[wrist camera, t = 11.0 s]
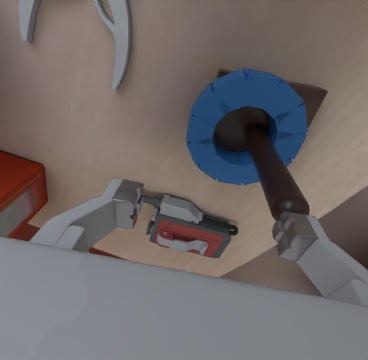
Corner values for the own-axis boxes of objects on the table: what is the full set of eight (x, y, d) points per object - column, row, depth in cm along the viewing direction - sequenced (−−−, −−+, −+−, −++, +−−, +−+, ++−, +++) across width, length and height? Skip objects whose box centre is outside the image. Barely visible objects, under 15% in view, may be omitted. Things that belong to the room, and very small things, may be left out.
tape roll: (199, 61, 18) (197, 65, 15) (315, 79, 18) (332, 86, 15) (184, 161, 24) (181, 175, 21) (270, 175, 24) (277, 191, 21)
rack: (218, 68, 19) (231, 113, 8) (320, 87, 19) (480, 160, 8) (198, 157, 25) (188, 257, 14) (276, 172, 25) (331, 284, 14)
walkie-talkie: (244, 213, 30) (111, 176, 28) (248, 237, 26) (96, 197, 25) (222, 247, 35) (108, 217, 33) (223, 271, 31) (96, 239, 30)
